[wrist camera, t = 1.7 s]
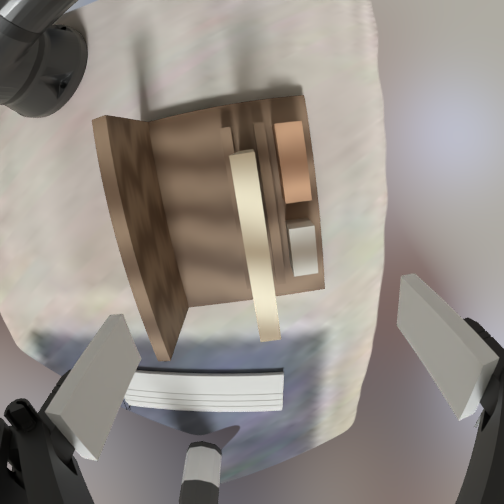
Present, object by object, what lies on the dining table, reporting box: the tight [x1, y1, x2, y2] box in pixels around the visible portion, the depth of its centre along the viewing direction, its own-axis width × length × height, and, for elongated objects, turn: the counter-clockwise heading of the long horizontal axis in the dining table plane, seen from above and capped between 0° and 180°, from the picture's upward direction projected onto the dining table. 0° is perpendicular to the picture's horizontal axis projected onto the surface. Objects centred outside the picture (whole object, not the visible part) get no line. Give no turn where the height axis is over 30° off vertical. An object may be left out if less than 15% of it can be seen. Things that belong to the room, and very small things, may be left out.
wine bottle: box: [179, 441, 222, 504], centre depth 44 cm, size 8×8×30 cm
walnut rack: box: [92, 95, 325, 361], centre depth 33 cm, size 26×21×14 cm
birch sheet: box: [229, 149, 281, 342], centre depth 29 cm, size 14×2×18 cm, turn 9°
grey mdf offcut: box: [285, 218, 318, 277], centre depth 37 cm, size 6×3×4 cm, turn 9°
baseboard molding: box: [123, 370, 284, 412], centre depth 50 cm, size 31×3×12 cm
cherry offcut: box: [272, 121, 312, 204], centre depth 34 cm, size 9×3×4 cm, turn 9°
